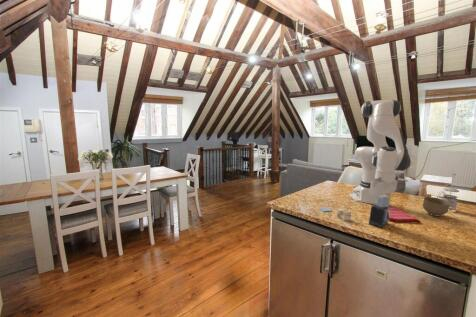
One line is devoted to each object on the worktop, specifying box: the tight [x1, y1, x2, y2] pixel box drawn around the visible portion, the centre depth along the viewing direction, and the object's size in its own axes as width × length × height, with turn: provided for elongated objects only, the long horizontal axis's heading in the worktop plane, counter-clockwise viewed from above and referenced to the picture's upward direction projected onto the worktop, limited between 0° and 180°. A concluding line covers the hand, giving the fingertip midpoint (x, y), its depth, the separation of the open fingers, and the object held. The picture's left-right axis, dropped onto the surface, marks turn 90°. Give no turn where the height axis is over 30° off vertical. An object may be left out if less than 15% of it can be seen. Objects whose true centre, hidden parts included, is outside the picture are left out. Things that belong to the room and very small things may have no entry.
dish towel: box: [371, 204, 421, 223], centre depth 145 cm, size 17×24×3 cm
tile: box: [317, 206, 333, 213], centre depth 150 cm, size 6×6×1 cm
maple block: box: [336, 208, 352, 222], centre depth 136 cm, size 5×5×5 cm
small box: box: [368, 204, 391, 228], centre depth 130 cm, size 11×6×10 cm, turn 129°
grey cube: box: [373, 195, 391, 208], centre depth 129 cm, size 5×5×5 cm
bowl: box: [422, 196, 450, 216], centre depth 147 cm, size 13×13×10 cm
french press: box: [436, 172, 460, 210], centre depth 157 cm, size 10×12×25 cm
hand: (381, 201), depth 129 cm, fingers open, 8 cm apart
